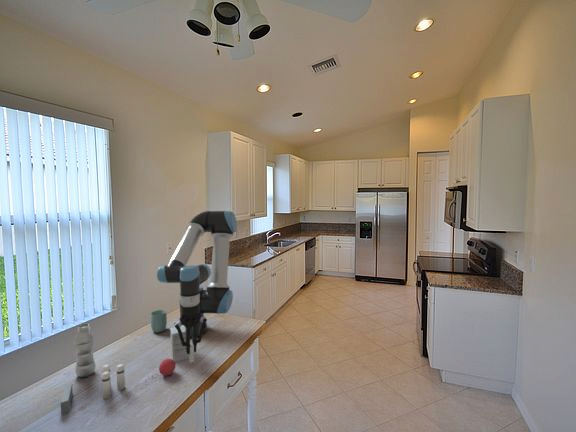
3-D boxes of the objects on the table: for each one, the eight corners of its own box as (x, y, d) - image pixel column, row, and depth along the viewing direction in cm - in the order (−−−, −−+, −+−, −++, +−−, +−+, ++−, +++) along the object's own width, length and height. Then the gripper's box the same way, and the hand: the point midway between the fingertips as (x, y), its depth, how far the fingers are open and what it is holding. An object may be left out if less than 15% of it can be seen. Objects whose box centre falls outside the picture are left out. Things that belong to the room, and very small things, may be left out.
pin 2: (110, 393, 104) (109, 370, 103) (110, 397, 102) (109, 373, 101) (102, 395, 103) (101, 372, 102) (102, 399, 101) (101, 376, 100)
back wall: (72, 394, 103) (72, 383, 103) (68, 412, 95) (68, 400, 95) (65, 396, 102) (65, 385, 102) (61, 414, 94) (60, 402, 94)
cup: (169, 330, 153) (169, 312, 152) (154, 335, 147) (154, 316, 147) (163, 326, 158) (162, 308, 158) (148, 331, 152) (147, 312, 152)
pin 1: (111, 385, 108) (110, 363, 108) (110, 389, 106) (109, 366, 106) (103, 387, 107) (102, 365, 106) (103, 391, 105) (101, 368, 104)
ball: (174, 368, 119) (173, 354, 119) (176, 375, 114) (176, 361, 114) (158, 372, 116) (157, 358, 116) (160, 380, 111) (159, 365, 110)
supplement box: (170, 354, 130) (169, 327, 129) (188, 350, 133) (187, 323, 132) (172, 362, 123) (171, 334, 122) (190, 358, 126) (189, 330, 126)
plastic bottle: (85, 380, 111) (83, 330, 110) (71, 378, 113) (68, 328, 111) (99, 370, 118) (97, 322, 116) (85, 368, 119) (83, 321, 118)
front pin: (124, 385, 108) (124, 363, 108) (125, 388, 106) (124, 366, 106) (117, 387, 107) (116, 365, 107) (117, 391, 105) (116, 368, 105)
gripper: (175, 310, 112) (176, 369, 113) (208, 304, 118) (209, 360, 119) (171, 304, 118) (173, 360, 119) (203, 298, 125) (205, 352, 126)
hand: (191, 360), depth 119 cm, fingers closed
